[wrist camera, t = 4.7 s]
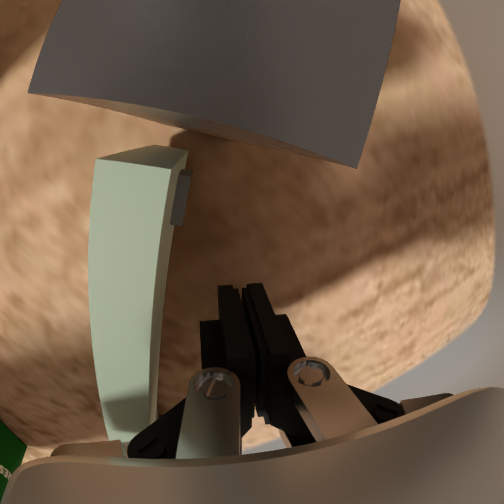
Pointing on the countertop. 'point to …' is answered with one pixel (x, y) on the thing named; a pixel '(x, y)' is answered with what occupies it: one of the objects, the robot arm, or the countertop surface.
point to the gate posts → (228, 67)
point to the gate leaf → (132, 277)
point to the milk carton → (9, 456)
